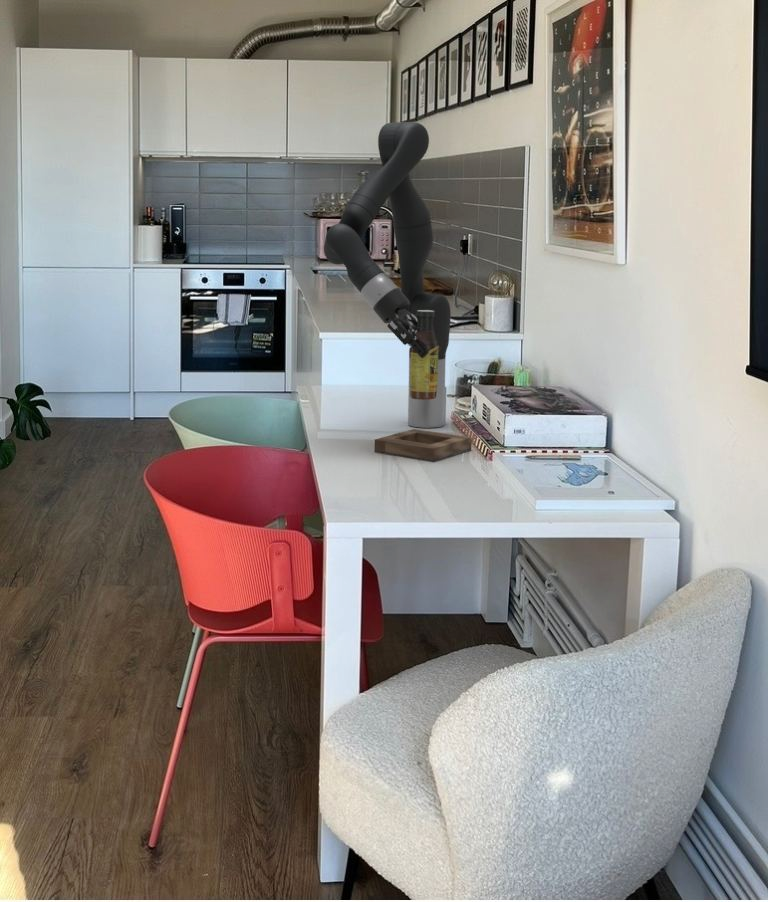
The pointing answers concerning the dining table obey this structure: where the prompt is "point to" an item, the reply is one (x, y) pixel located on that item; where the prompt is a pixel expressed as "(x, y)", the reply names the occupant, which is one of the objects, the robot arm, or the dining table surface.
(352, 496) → the dining table surface
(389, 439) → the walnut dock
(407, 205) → the robot arm
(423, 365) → the sauce bottle
